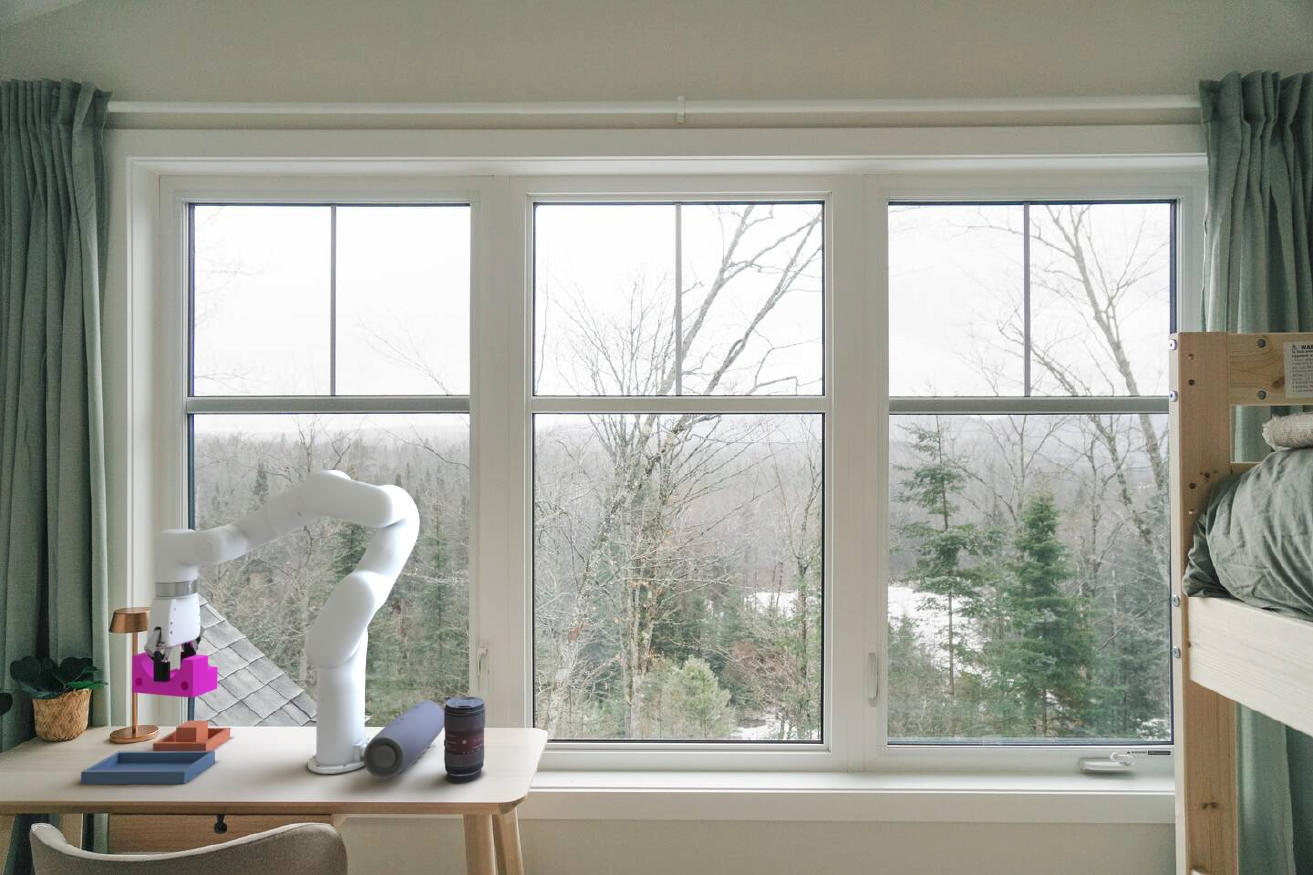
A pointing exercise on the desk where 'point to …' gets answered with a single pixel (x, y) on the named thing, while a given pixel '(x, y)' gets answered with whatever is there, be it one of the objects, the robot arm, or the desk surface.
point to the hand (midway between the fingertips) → (175, 675)
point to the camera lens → (464, 738)
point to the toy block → (174, 677)
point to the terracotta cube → (192, 731)
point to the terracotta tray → (214, 740)
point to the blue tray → (148, 767)
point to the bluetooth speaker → (404, 740)
